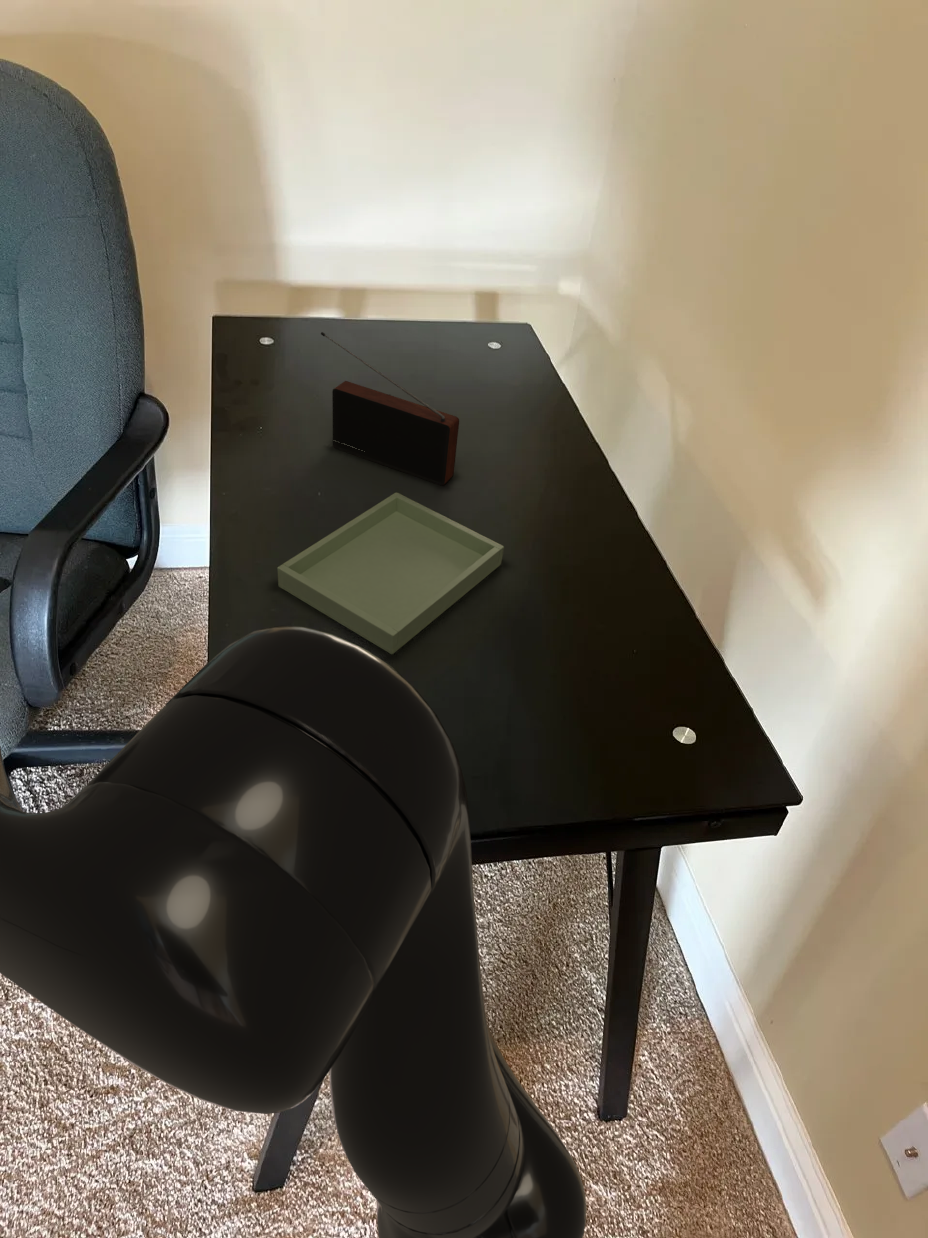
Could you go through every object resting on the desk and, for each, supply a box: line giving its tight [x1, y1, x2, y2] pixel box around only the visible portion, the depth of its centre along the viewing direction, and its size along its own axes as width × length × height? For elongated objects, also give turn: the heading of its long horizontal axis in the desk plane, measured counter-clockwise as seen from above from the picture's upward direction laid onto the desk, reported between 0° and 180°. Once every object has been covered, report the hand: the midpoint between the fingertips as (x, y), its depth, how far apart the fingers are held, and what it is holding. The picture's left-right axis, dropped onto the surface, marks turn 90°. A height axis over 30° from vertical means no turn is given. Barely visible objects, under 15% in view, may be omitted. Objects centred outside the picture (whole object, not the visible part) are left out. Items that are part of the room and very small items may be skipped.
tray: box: [276, 492, 505, 655], centre depth 90 cm, size 20×16×3 cm
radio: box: [320, 331, 460, 486], centre depth 104 cm, size 19×3×15 cm, turn 65°
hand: (330, 731), depth 64 cm, fingers open, 8 cm apart
